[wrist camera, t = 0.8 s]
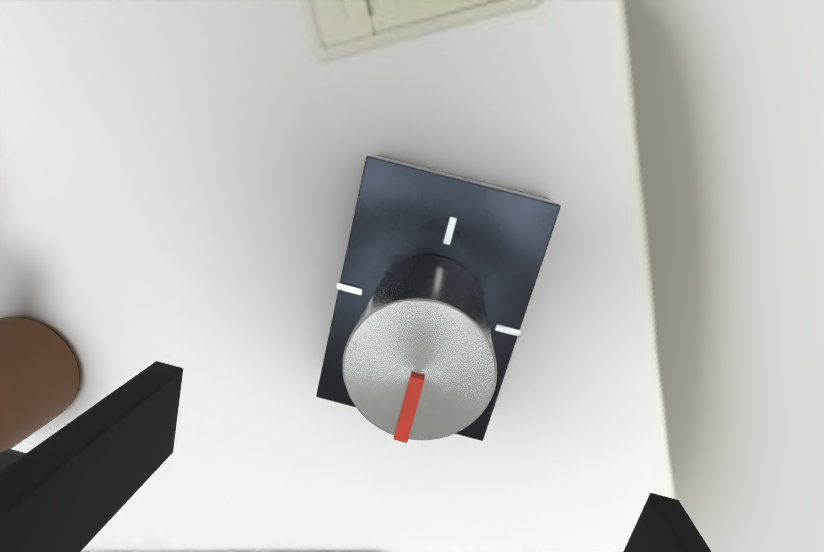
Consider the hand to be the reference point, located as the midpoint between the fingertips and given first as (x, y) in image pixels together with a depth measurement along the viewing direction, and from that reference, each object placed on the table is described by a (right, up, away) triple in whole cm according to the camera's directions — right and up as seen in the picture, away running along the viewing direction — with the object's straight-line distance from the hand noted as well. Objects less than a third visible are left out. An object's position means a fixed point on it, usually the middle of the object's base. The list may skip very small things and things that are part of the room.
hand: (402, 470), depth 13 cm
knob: (+1, +4, +12) cm, 13 cm away
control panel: (+1, +4, +15) cm, 16 cm away
